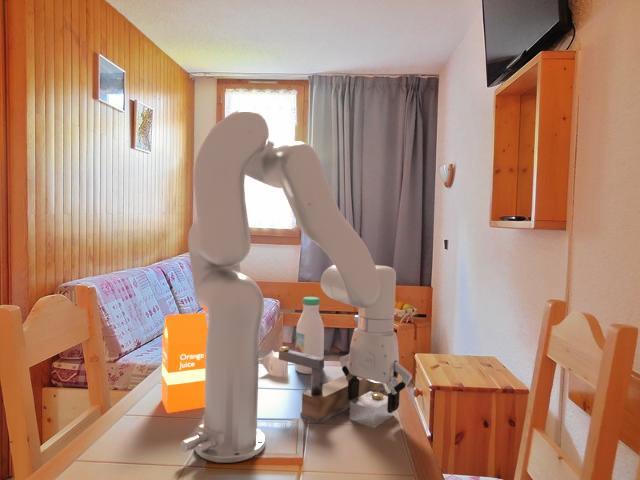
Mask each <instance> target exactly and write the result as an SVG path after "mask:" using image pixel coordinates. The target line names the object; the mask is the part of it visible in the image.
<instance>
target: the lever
mask: <svg viewBox="0 0 640 480" xmlns="http://www.w3.org/2000/svg"><path fill="white" fill-rule="evenodd" d="M278 352H279V359H280V360H283V361H287V362H288V363H291V364H294V365H295V364H298V365H302V366H306V367H309V368H312V374H311V380H310V382H311V383H310V384H311V385H310V390H311V394H312V395H322V391H323V384H324V368H325V358H320V357H316V356H312V355H308V354H304V353H300V352H296V350H291V349H290V346H286V345H281V346H279V350H278Z"/></svg>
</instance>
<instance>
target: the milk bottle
mask: <svg viewBox="0 0 640 480" xmlns="http://www.w3.org/2000/svg"><path fill="white" fill-rule="evenodd" d="M320 301H321V299H320V297H317V296H305V297H303V298H302V307H303V309H302V313H301V315H300V316H299V320H298V321H297V324H296V330H295V331H296V333H295V351H296V352H300V353H304V354H308V355H312V356H316V357H320V358H324V356H325V355H324V352H325V351H324V350H325V325H324V322H323V320H322V317H321V315H320V309H319V307H320ZM324 359H325V358H324ZM294 369H295V371H296V372H298V373H300V374H305V375H312V368H309V367H306V366H302V365H298V364H294Z"/></svg>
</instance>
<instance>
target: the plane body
mask: <svg viewBox="0 0 640 480" xmlns="http://www.w3.org/2000/svg"><path fill="white" fill-rule="evenodd" d="M357 378H358V379H359V396H358V397H360V396H362V395H364V394H366V393H368V392H370V391H371V392H379V393H381V392H382V391H383V390H385V389H386V387H385V385H384V384H380V383H376V382H373V381H369V380H366V379H362V378H359V377H357ZM358 397H356V398H354V399H352V400H349V399H348V381H347V380H346V376H345V374H344V375H341V376H340V377H338V378H335V379H332V380H330V381H328V382H326V383H323V391H322V395H312V394H311V389H310V390H307V391H305V392H302V394H301V398H302V399H301V401H302V402H301V412H300V417H301V418H304V419H306V420H308V421H312V422H314V423H317V424H319V425H320V424H322V423H324V422H327V421H329V419H331V418H333V417H335V416H338V415H339V414H340V413H342V412H345V411H346V410H348V409H350V402H351V401H353V400H355V399H357V398H358Z"/></svg>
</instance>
